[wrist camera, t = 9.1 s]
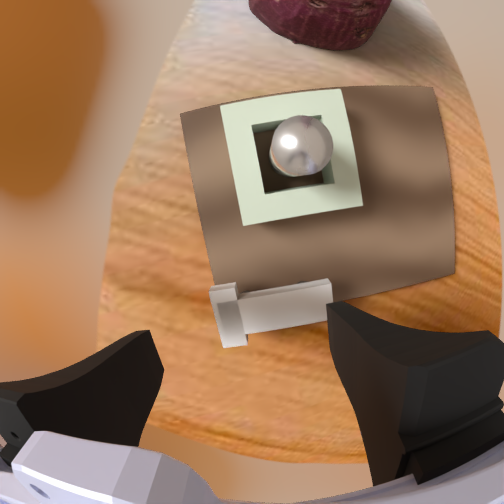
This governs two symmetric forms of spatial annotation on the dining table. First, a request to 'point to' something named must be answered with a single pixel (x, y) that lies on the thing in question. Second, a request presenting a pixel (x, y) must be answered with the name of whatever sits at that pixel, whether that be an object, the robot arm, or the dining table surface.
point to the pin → (300, 147)
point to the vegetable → (322, 20)
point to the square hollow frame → (269, 118)
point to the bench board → (327, 216)
